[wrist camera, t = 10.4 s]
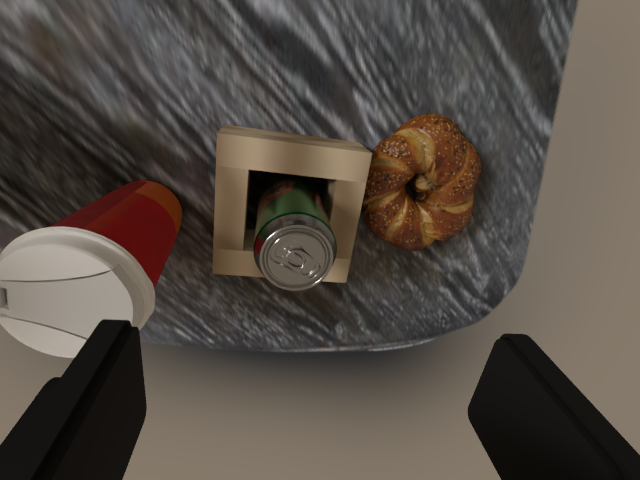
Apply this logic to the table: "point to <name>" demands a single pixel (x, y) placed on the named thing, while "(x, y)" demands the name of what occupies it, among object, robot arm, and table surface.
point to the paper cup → (88, 268)
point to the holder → (289, 158)
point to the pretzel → (421, 183)
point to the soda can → (292, 233)
